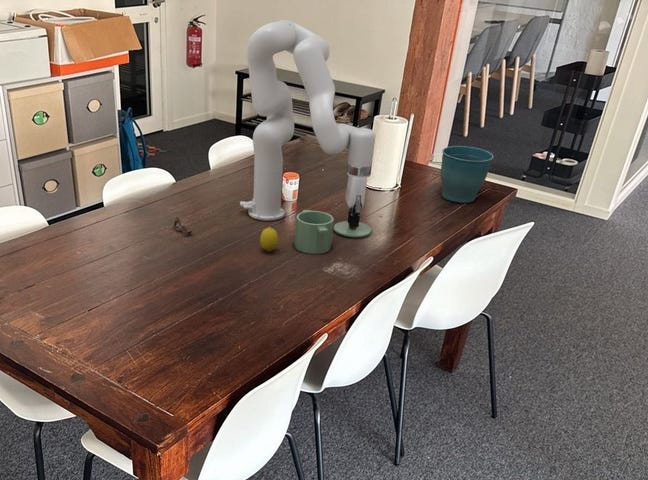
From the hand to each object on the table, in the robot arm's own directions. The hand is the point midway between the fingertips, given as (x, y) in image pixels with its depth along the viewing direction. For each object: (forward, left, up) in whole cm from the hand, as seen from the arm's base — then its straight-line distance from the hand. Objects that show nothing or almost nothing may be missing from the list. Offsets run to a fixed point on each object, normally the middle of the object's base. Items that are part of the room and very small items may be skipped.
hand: (352, 224), depth 224 cm
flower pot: (+45, +35, -3) cm, 57 cm away
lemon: (-28, -18, -3) cm, 34 cm away
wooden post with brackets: (-56, -5, -3) cm, 56 cm away
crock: (-14, -13, -2) cm, 19 cm away
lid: (0, 0, -2) cm, 2 cm away
